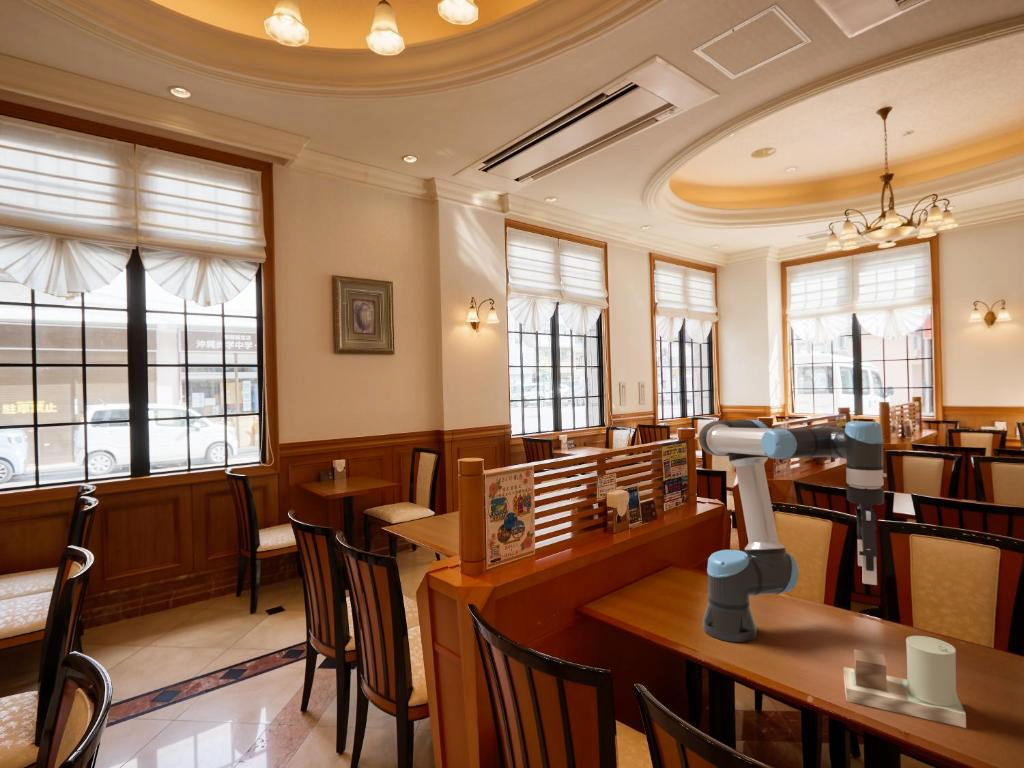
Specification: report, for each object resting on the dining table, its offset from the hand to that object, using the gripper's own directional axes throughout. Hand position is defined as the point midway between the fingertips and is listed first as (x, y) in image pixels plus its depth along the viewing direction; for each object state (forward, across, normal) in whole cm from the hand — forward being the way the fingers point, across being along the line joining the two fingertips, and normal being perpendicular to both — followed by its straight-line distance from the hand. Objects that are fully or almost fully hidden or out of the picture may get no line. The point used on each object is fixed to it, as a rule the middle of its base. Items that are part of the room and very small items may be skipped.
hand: (866, 574), depth 130 cm
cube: (+26, 0, 0) cm, 26 cm away
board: (+29, 0, -6) cm, 29 cm away
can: (+26, 0, -12) cm, 29 cm away
